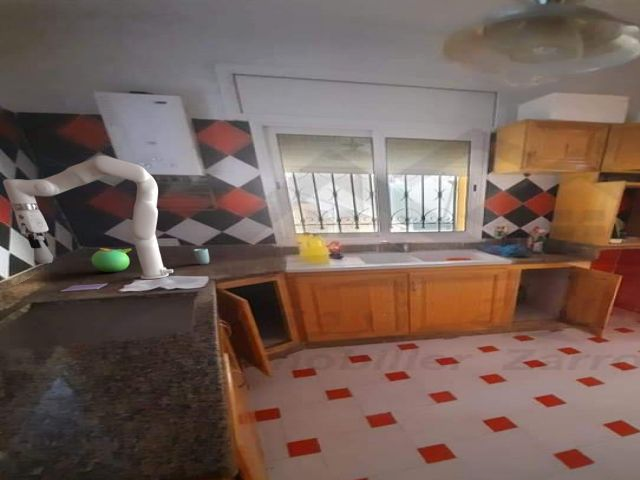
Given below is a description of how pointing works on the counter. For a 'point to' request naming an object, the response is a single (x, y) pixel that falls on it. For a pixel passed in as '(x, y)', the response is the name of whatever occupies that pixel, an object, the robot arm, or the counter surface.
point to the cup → (201, 256)
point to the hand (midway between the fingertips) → (40, 246)
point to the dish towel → (84, 287)
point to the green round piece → (111, 260)
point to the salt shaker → (42, 252)
